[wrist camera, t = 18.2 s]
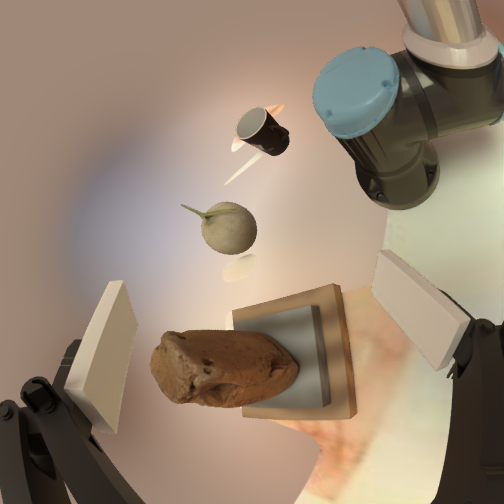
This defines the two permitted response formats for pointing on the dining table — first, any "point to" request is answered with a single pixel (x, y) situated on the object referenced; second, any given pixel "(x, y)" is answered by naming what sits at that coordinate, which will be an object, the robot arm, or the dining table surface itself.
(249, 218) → the fruit
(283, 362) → the block
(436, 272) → the dining table surface
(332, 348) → the tower base
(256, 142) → the coffee mug
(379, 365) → the dining table surface
